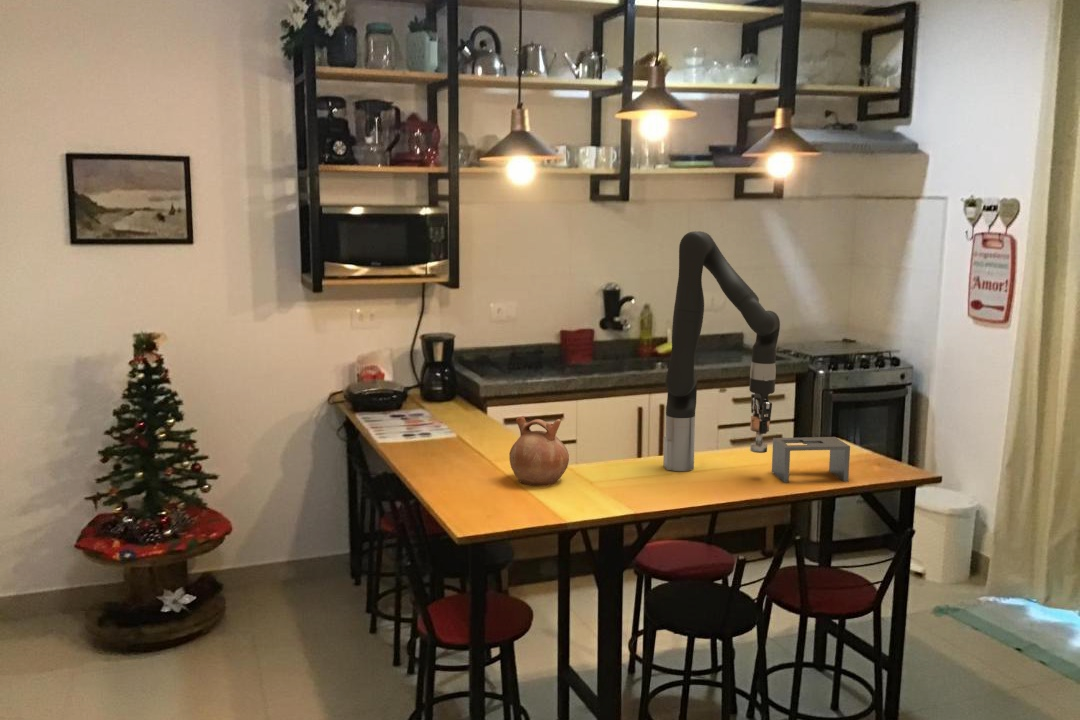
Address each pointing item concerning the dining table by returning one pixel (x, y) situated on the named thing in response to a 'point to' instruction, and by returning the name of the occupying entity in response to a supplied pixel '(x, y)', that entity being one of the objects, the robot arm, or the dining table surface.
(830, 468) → the keyhole bridge
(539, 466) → the jug
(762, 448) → the keyhole peg
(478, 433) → the dining table surface
